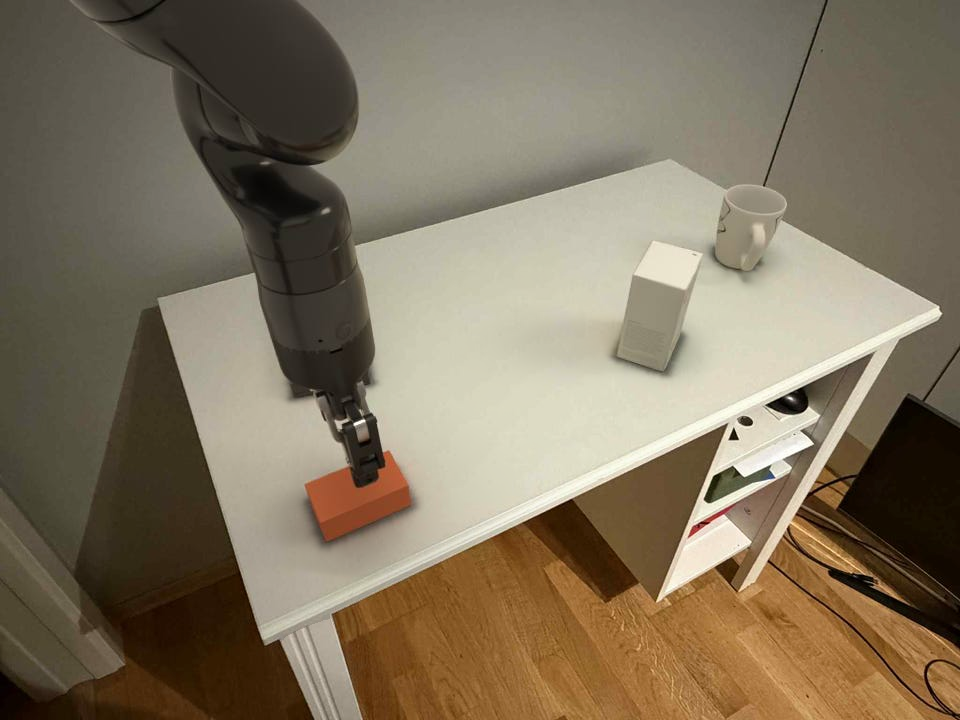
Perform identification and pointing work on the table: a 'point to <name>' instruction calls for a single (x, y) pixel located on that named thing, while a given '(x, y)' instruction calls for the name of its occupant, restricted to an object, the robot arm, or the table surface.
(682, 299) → the small box
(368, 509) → the orange block
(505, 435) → the table surface
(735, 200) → the mug
